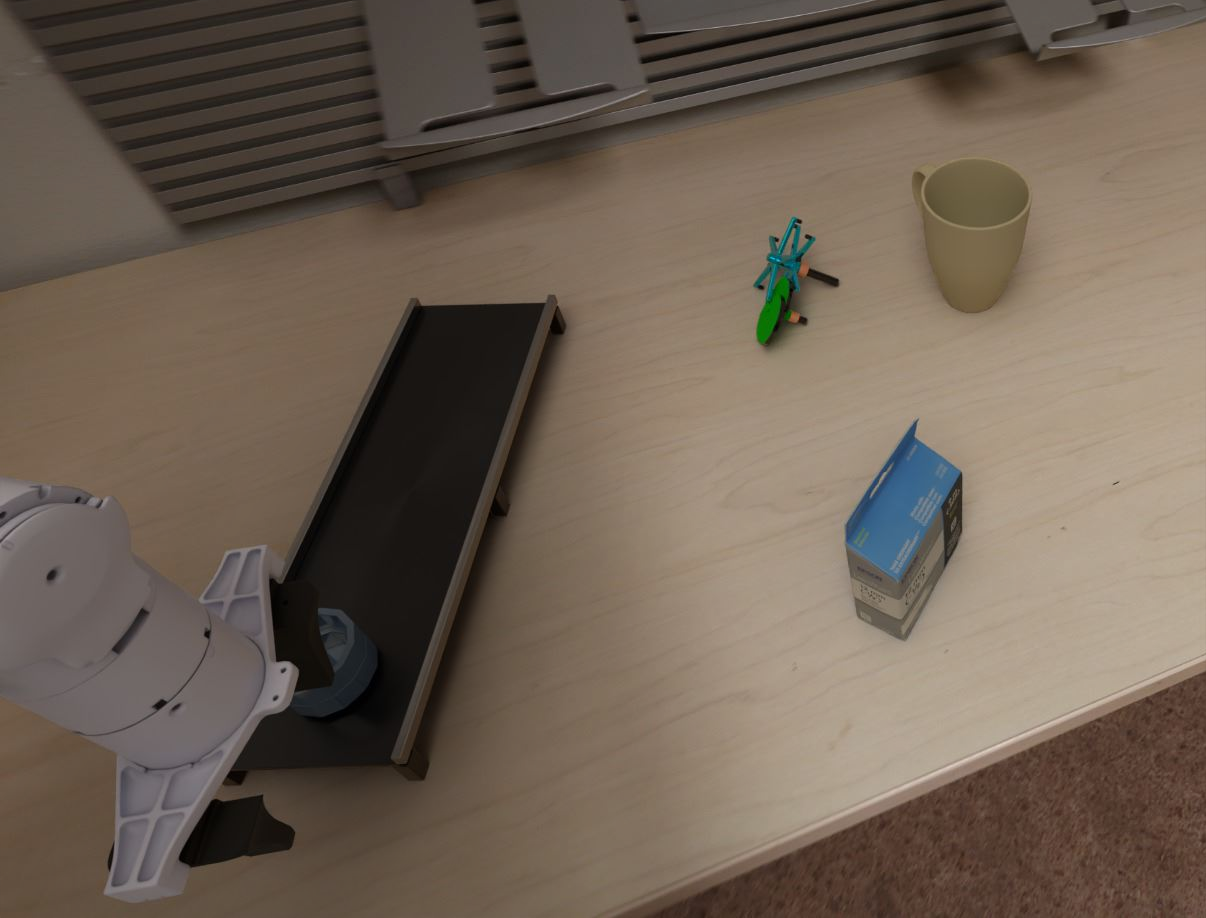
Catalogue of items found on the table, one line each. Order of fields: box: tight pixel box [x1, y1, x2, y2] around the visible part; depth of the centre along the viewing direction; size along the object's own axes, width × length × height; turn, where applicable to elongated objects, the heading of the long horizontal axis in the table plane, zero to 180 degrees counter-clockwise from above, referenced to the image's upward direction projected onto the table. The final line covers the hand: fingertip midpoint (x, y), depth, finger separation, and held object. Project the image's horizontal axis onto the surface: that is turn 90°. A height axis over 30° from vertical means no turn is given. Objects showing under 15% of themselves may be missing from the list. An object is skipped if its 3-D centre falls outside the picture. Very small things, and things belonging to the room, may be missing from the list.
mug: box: [911, 156, 1033, 314], centre depth 80 cm, size 11×10×12 cm
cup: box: [289, 608, 378, 717], centre depth 56 cm, size 5×5×4 cm
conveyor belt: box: [221, 294, 567, 787], centre depth 68 cm, size 36×12×4 cm, turn 1°
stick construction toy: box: [752, 216, 840, 346], centre depth 82 cm, size 12×7×8 cm
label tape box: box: [844, 418, 964, 642], centre depth 61 cm, size 9×4×12 cm, turn 151°
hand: (294, 759), depth 48 cm, fingers open, 7 cm apart
